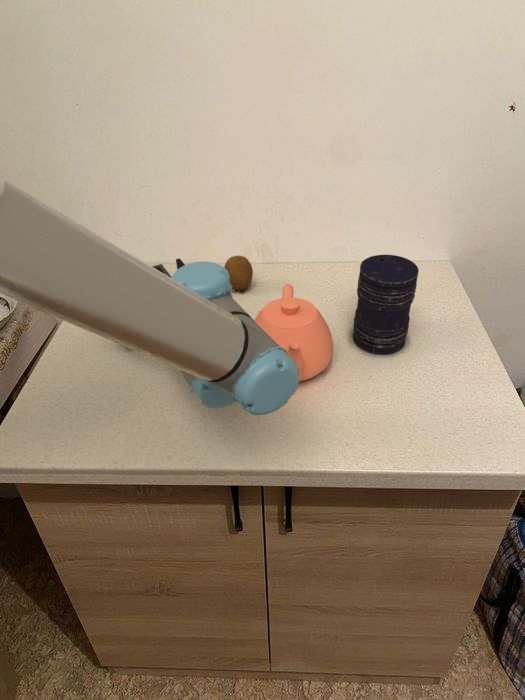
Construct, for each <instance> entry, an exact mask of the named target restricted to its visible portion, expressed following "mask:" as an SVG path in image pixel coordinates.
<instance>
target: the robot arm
mask: <svg viewBox="0 0 525 700" xmlns="http://www.w3.org/2000/svg"><path fill="white" fill-rule="evenodd" d="M175 265H176V270H175V271H174V273H172V275H171V278H170V277H169V276H167V275H165V274H163V273H162V272H160V271H158V270H157V269H155V268H153V267H152V266H153V265H150V264H148V263H146V262H145V261H144V260H141V259H140V258H138V257H137V256H135V255H134V254H132V253H129V252H128V251H127V250H125V249H123V248H121V247H120V246H118V245H116V244H114V243H112V242H111V241H110V240H108V239H106V238H104V237H102V236H101V235H99V234H98V233H96V232H94V231H92V230H91V229H89V228H87V227H86V226H83V224H80V223H78V222H77V221H76V220H73V219H72V218H70V217H69V216H67V215H65V214H63V213H62V212H60V211H58V210H57V209H55V208H53V207H52V206H49V205H48V204H46V203H45V202H43V201H41V200H39V199H38V198H36V197H34V196H33V195H31V194H30V193H28V192H26V191H25V190H23V189H21V188H20V187H18V186H16V185H14V184H13V183H10V182H9V181H7V180H6V179H4V178H3V176H2V174H1V173H0V295H2V296H4V297H6V298H9V299H12V300H14V301H16V302H19V303H20V304H23V305H25V306H28V307H30V308H32V309H35V310H37V311H39V312H42V313H44V314H47V315H49V316H51V317H54V318H56V319H58V320H61V321H63V322H66V323H69V324H71V325H73V326H75V327H78V328H81V329H83V330H85V331H87V332H89V333H92V334H94V335H97V336H99V337H101V338H104V339H107V340H108V341H111V342H114V343H116V344H118V345H120V346H123V347H125V348H128V349H129V348H130V350H133V351H134V352H137V353H139V354H141V355H144V356H147V357H149V358H151V359H154V360H156V361H159V362H161V363H163V364H166V365H168V366H170V367H173V368H175V369H178V370H179V371H180V373H181V375H182V376H183V377H184V380H185V381H186V382H187V385H188V386H189V388H190V392H191V393H192V394H193V395H194V396H195V398H197V400H198V401H199V402H200V404H201V405H203V406H204V407H206V408H208V409H210V410H211V409H212V410H221V409H225V408H227V407H230V406H233V405H234V404H238V405H239V406H240V407H241V408H242V409H243V410H244V411H245V412H247V413H248V414H250V415H254V416H266V415H270V414H272V413H274V412H275V413H276V411H278V410H280V409H282V407H284V406H285V405H286V404H287V403H288V402H289V400H290V399H291V398H292V396H294V395H295V393H296V391H297V389H298V387H299V383H300V381H299V378H300V377H299V370H298V367H297V365H296V364H295V362H294V361H293V360H292V359H291V357H290V356H289V355H288V354H287V352H286V350H285V349H284V348H283V347H282V348H281V347H280V346H279V345H278V344H277V343H276V342H275V341H274V340H273V339H272V338H271V337H270V336H269V335H268V334H267V333H266V332H265V331H264V330H263V329H262V328H261V327H260V326H259V325H258V324H257V323H256V322H255V319H253V318H252V316H251V315H250V314H249V313H248V312H247V311H246V310H245V309H244V308H243V307H242V306H241V305H240V304H239V303H238V302H237V301H236V300H235V299H234V298H233V294H232V290H233V289H232V285H231V283H230V277H229V273H228V271H227V270H226V269H225V268H224V267H225V266H224V265H221V264H219V263H216V262H212V261H195V262H192V263H188V264H185V263H184V262H183V260H182V259H181V258H180V257H179V258H176V259H175Z"/></svg>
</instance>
